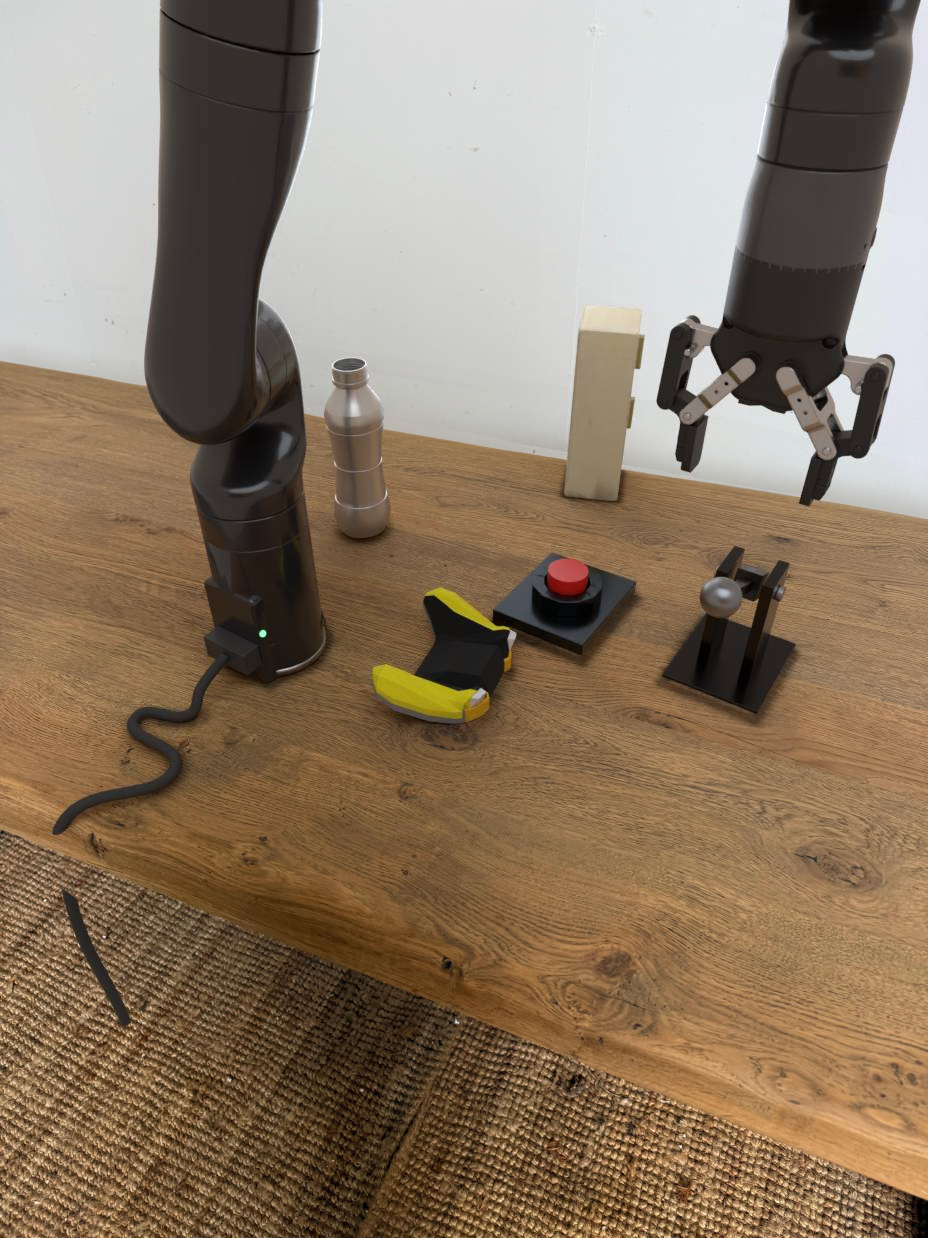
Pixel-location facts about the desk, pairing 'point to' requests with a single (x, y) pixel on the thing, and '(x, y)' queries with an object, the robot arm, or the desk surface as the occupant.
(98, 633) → the desk surface
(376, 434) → the silver metal bottle
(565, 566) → the button
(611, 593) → the control box
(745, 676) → the switch bracket
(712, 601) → the switch lever
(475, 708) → the gaming controller
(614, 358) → the toy refrigerator
